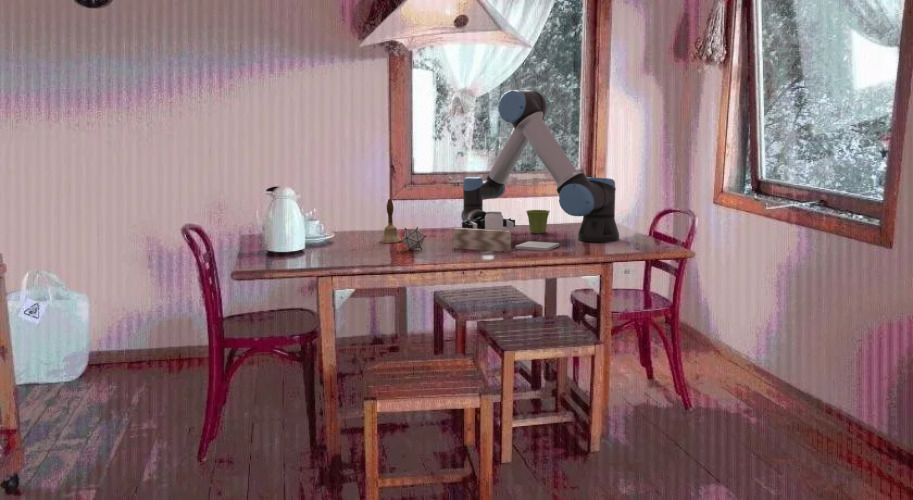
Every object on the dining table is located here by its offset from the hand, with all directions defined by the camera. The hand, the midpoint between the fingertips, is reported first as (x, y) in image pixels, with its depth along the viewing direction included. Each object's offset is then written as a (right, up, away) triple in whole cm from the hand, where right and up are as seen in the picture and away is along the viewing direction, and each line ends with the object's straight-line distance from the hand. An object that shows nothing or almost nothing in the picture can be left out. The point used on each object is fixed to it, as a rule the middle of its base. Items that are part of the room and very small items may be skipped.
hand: (494, 227), depth 306 cm
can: (0, -7, +3) cm, 7 cm away
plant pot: (+19, -1, +34) cm, 39 cm away
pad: (+15, -7, -3) cm, 17 cm away
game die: (-29, -8, -5) cm, 30 cm away
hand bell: (-38, -5, +16) cm, 42 cm away
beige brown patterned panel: (-5, -8, -6) cm, 11 cm away
